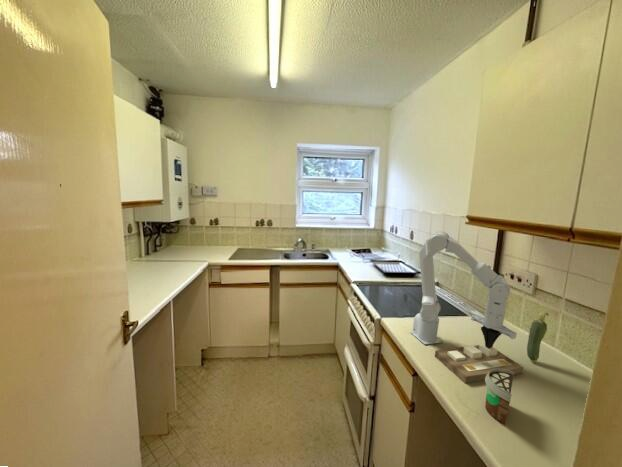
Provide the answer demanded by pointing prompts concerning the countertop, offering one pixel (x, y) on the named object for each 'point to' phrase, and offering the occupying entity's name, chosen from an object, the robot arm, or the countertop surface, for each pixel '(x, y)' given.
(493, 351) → the far button
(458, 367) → the button board
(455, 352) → the near button
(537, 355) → the vegetable
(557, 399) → the countertop surface
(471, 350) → the middle button
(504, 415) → the food container
